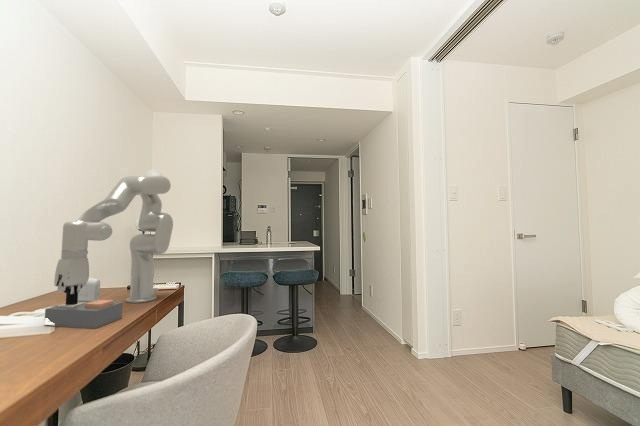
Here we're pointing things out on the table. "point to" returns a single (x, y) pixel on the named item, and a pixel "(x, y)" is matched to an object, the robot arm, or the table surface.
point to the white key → (72, 305)
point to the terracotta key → (99, 304)
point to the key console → (84, 315)
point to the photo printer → (90, 290)
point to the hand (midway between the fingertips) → (71, 304)
